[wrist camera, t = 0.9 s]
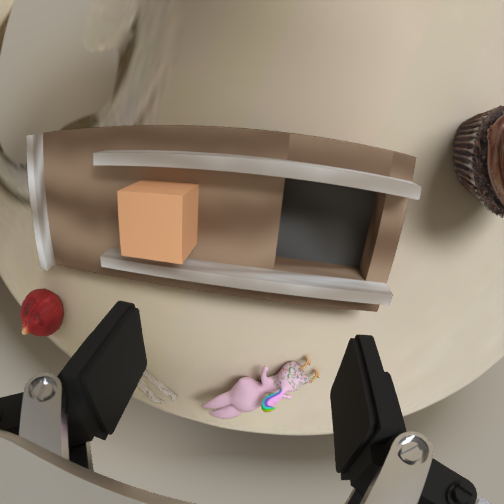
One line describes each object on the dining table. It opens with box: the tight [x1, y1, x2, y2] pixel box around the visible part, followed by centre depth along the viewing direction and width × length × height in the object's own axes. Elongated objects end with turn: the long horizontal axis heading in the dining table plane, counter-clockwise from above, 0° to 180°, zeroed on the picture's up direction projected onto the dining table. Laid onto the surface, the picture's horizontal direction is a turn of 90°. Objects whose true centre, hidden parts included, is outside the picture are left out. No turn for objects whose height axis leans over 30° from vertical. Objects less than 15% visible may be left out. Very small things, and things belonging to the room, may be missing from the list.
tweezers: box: [97, 325, 179, 403], centre depth 36 cm, size 17×5×2 cm, turn 31°
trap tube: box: [27, 125, 422, 312], centre depth 25 cm, size 14×34×5 cm, turn 85°
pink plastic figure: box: [202, 355, 320, 419], centre depth 32 cm, size 6×6×15 cm
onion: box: [21, 289, 64, 336], centre depth 30 cm, size 6×6×8 cm
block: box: [117, 180, 199, 264], centre depth 22 cm, size 5×5×4 cm
